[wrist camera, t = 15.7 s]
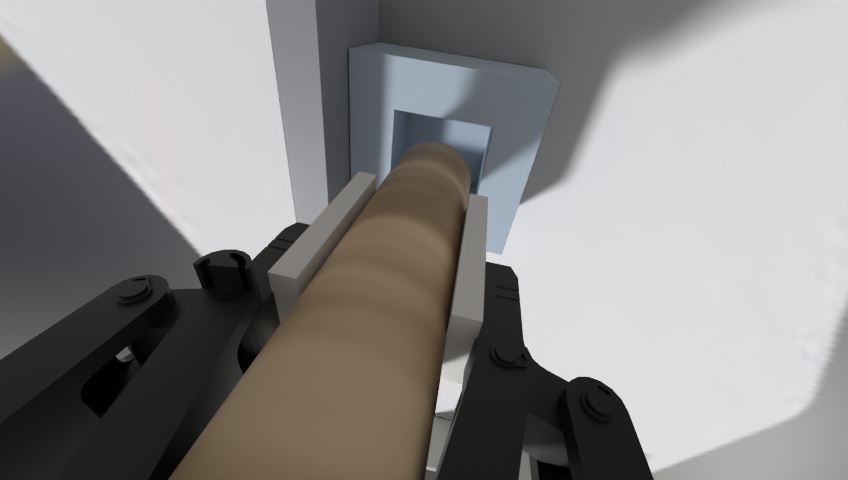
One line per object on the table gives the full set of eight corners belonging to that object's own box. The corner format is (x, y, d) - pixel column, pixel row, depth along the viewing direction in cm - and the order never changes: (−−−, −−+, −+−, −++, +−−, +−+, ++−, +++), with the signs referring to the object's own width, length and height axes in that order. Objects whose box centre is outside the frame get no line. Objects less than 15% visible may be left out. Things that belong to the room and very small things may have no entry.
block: (379, 41, 19) (348, 47, 15) (546, 69, 18) (560, 83, 14) (374, 189, 25) (351, 222, 21) (500, 215, 24) (501, 254, 20)
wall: (346, -5, 18) (263, -18, 12) (380, 0, 18) (314, -11, 11) (349, 206, 26) (302, 267, 20) (373, 211, 26) (332, 274, 20)
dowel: (398, 134, 16) (44, 533, 3) (478, 150, 15) (414, 649, 3) (392, 204, 18) (170, 592, 6) (461, 219, 18) (386, 662, 5)
